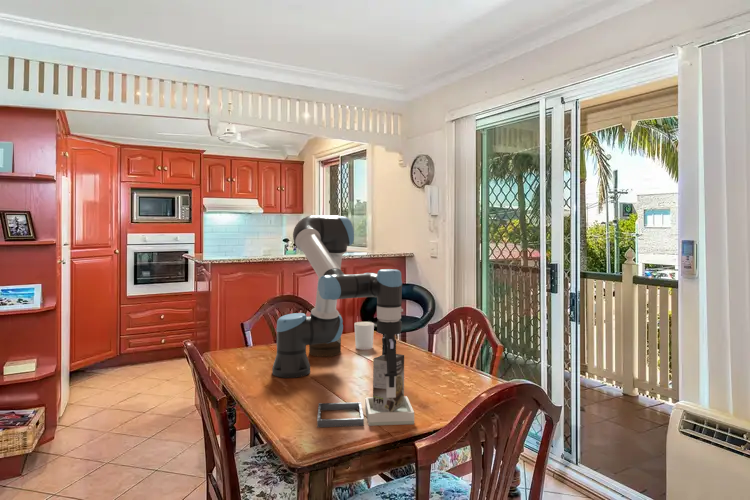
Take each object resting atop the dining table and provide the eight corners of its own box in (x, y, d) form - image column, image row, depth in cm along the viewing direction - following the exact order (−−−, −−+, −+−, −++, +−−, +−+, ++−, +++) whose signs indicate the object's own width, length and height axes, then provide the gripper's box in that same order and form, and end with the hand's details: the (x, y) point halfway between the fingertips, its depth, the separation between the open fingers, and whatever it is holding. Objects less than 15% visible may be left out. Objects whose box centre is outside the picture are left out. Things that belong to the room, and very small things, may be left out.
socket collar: (317, 427, 134) (317, 420, 134) (318, 409, 148) (318, 403, 147) (363, 425, 135) (363, 419, 135) (361, 408, 149) (361, 402, 149)
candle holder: (373, 350, 222) (374, 325, 222) (353, 350, 222) (353, 325, 222) (374, 345, 232) (374, 321, 232) (354, 345, 232) (354, 321, 232)
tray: (368, 425, 135) (368, 413, 135) (365, 408, 149) (365, 397, 149) (414, 424, 137) (414, 412, 136) (407, 406, 150) (407, 396, 150)
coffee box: (390, 415, 137) (390, 361, 137) (372, 410, 141) (372, 358, 140) (404, 405, 145) (405, 354, 144) (387, 401, 148) (387, 351, 148)
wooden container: (345, 355, 214) (345, 307, 213) (313, 358, 208) (313, 309, 207) (335, 347, 227) (335, 303, 226) (305, 350, 221) (305, 305, 221)
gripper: (407, 327, 131) (406, 404, 131) (396, 313, 153) (395, 378, 154) (380, 327, 130) (380, 404, 131) (373, 313, 153) (373, 379, 154)
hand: (388, 390), depth 143 cm, fingers closed on coffee box, 10 cm apart
